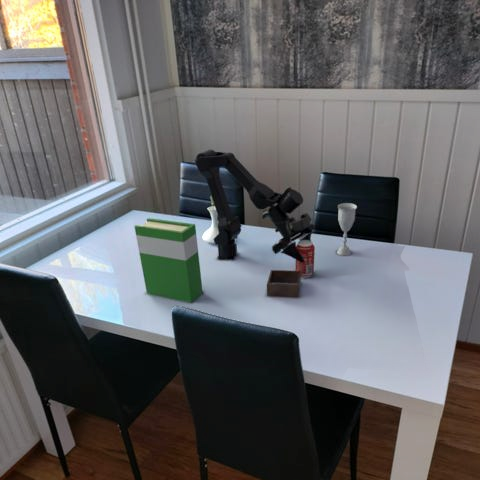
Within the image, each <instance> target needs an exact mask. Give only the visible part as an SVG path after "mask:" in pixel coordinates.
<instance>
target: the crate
mask: <svg viewBox="0 0 480 480" xmlns="http://www.w3.org/2000/svg"><path fill="white" fill-rule="evenodd" d="M301 284H302V278H301V271H295V270H288V269H287V270H286V269H270V271H269V275H268V278H267V282H266V296H267V297H280V298H282V297H283V298H300V291H301Z"/></svg>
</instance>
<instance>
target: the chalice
mask: <svg viewBox="0 0 480 480" xmlns="http://www.w3.org/2000/svg"><path fill="white" fill-rule="evenodd" d="M357 208H358V206H357V205H356V204H354V203H351V202H342V203H339V204H338V205H337V209H338V213H337V214H338V215H337V217H338V218H337V220H338V225H339V226H340V229H341V231H342V232H343V235H342V237H343V239H342V242H343V243H342V245H341V246H340V247H338V250H337V254H338V255H339V256H350V255H351V254H352V252H351V250H350V247H349V246H348V245H347V242H348V240H347V237H348V232H349V231H350V230H351V228H352V227H353V225H354V222H355V220H356V210H357Z"/></svg>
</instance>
